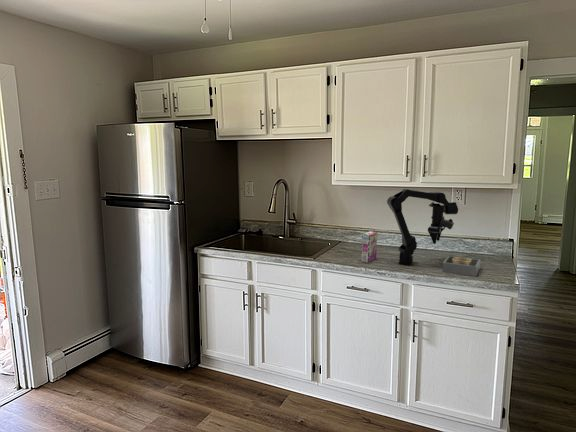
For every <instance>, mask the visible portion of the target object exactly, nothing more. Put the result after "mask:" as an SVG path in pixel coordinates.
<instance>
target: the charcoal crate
mask: <svg viewBox="0 0 576 432" xmlns="http://www.w3.org/2000/svg"><path fill="white" fill-rule="evenodd" d="M454 257H455V256H453V255H448V256H447V257H446V258H445V260H444V261H443V262H442V272H443V273H448V274H455V273H456V274H455V275H462V274H464V276H469V275H472V276H471V277H477V275H478V274H479V271H480V269H481V259H477V258H471V257H470V258H468V257H464V256H463V257H462V256H456V257H457V258H465V259H472V266H469V265H461V264H453V263H452V259H453V258H454Z"/></svg>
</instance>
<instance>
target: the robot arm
mask: <svg viewBox="0 0 576 432" xmlns="http://www.w3.org/2000/svg"><path fill="white" fill-rule="evenodd" d="M409 197H410V198H418V199H425V200H430V201H432V202H431V203H429V204H428V206H429V208H432V215H431V217H430V218H431V223H430V226H429V227H427V232H428V234H429V236H430V238H431V241H432V243H433V244H434V245H435V244H436V243H437V242H438V241H440V239H441V236H442V232H443V231H444V230H446V228H447V229H448V230H451V229H453V227H454V224H455V223H454V222H453V219H452V218H449V219H445V215H457V214H458V212H459V208H458V207H459V206H458V205H457V202H456V201H453V202H449V201H448V200H447V197H446V193H444V192H440V191H429V192H428V191H419V190H414V189H408V188H403V189H402V190H400V191H399V192H398V193H395V194H394V195H392V196H389V197H388V198H387V200H386V203H387V205H388V207H389V209H390V210H391V211H392V213H393V215H394V217H395V220H396V223H397V226H398V228H399V232H400V234H401V243H402V244H401V245H400V246H399V247H398V250H399V260H398V261H399V262H398V265H403V266H404V265H405V266H411V265H412V264H414V252H415V251H416V249H417V248H418V242H417V241H416V237H415V236H414V235H412V234H411V233H410V231H409V227H408V225H407V223H406V220H405V216H404V214H403V204H402V203H403V202H405V201H406V200H407V198H409Z"/></svg>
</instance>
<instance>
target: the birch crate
mask: <svg viewBox="0 0 576 432" xmlns="http://www.w3.org/2000/svg"><path fill="white" fill-rule="evenodd" d="M457 257H458V256H454V258H453V259H452V263H453V264H461V265H469V266H472V259H473V258H471V259H465V258H466V257H463V258H457Z"/></svg>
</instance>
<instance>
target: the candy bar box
mask: <svg viewBox="0 0 576 432" xmlns="http://www.w3.org/2000/svg"><path fill="white" fill-rule="evenodd" d="M377 245H378V231H372V230H371V231H367V232H364V233H362V234H361V253H360V256H361V257H360V262H362V263H365V264H370V263H371V262H373V261H375V260H376V259H377Z"/></svg>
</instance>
